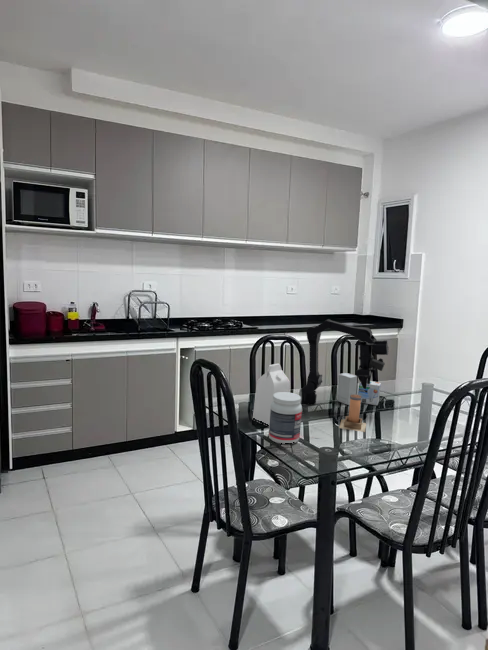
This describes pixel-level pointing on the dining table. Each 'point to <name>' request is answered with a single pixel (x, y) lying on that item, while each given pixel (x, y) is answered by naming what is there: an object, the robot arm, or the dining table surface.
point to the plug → (354, 408)
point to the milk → (269, 391)
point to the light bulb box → (370, 393)
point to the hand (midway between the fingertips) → (366, 386)
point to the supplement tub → (285, 418)
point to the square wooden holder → (353, 425)
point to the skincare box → (346, 387)
